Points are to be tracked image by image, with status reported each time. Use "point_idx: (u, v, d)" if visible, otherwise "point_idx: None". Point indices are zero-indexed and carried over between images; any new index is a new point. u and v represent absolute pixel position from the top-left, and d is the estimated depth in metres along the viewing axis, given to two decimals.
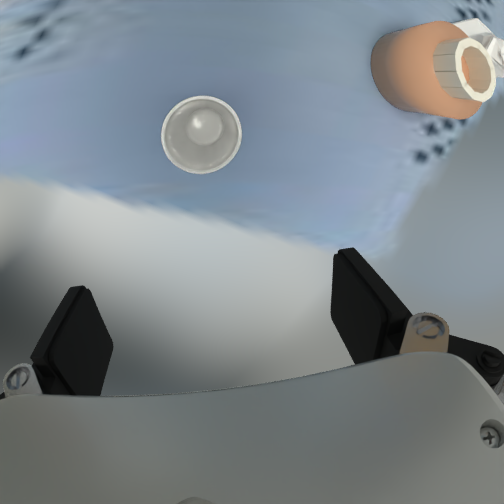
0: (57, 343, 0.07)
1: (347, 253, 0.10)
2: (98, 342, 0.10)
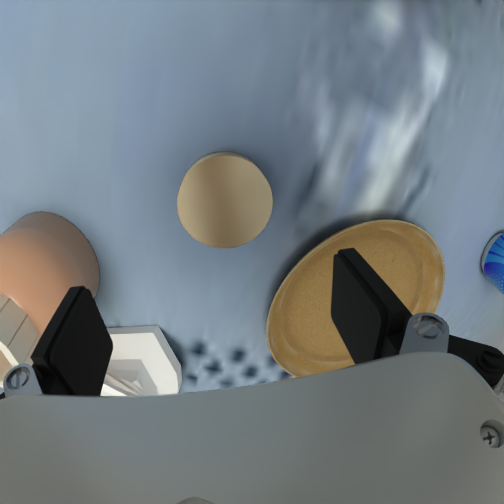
0: (57, 343, 0.07)
1: (347, 253, 0.10)
2: (98, 342, 0.10)
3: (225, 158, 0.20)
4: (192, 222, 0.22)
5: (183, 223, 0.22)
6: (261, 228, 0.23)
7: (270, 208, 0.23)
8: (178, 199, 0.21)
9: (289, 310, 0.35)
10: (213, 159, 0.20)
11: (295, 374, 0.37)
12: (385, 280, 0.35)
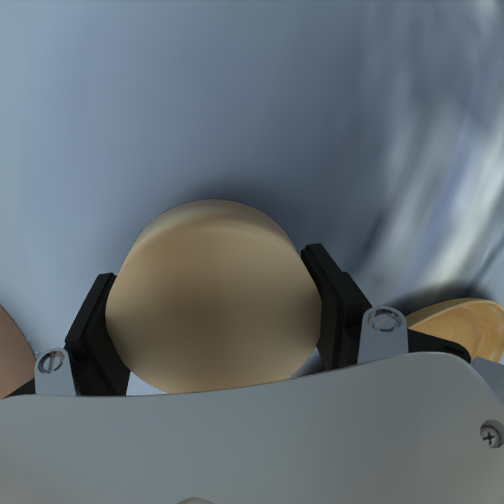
0: (92, 326, 0.08)
1: (313, 248, 0.11)
2: None
3: (215, 236, 0.08)
4: (145, 363, 0.10)
5: (127, 363, 0.09)
6: (291, 371, 0.11)
7: (315, 339, 0.10)
8: (108, 322, 0.09)
9: None
10: (182, 238, 0.08)
11: None
12: None
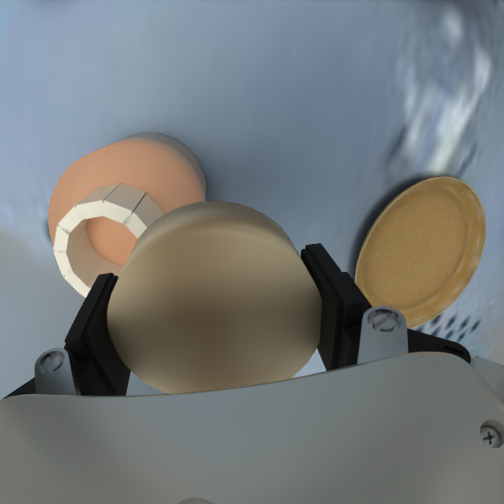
0: (92, 326, 0.08)
1: (313, 248, 0.11)
2: None
3: (216, 238, 0.08)
4: (147, 364, 0.10)
5: (128, 365, 0.10)
6: (292, 372, 0.11)
7: (316, 341, 0.10)
8: (110, 324, 0.09)
9: (371, 252, 0.38)
10: (184, 240, 0.08)
11: None
12: (442, 234, 0.38)
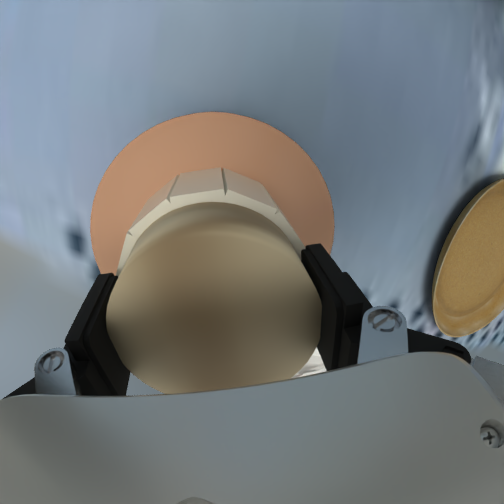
0: (92, 326, 0.08)
1: (313, 248, 0.11)
2: None
3: (215, 240, 0.08)
4: (146, 365, 0.10)
5: (128, 365, 0.10)
6: (291, 373, 0.11)
7: (315, 342, 0.10)
8: (109, 325, 0.09)
9: (446, 257, 0.31)
10: (183, 241, 0.08)
11: (439, 326, 0.34)
12: (503, 235, 0.32)
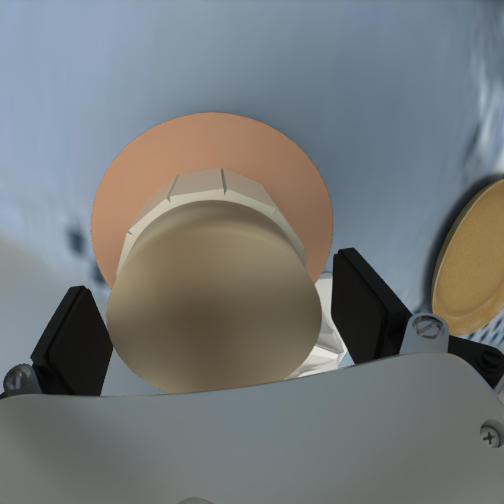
0: (57, 343, 0.07)
1: (347, 253, 0.10)
2: (98, 342, 0.10)
3: (215, 236, 0.08)
4: (146, 362, 0.10)
5: (128, 363, 0.10)
6: (291, 370, 0.11)
7: (314, 339, 0.10)
8: (109, 322, 0.09)
9: (445, 257, 0.32)
10: (183, 238, 0.08)
11: None
12: (503, 235, 0.32)
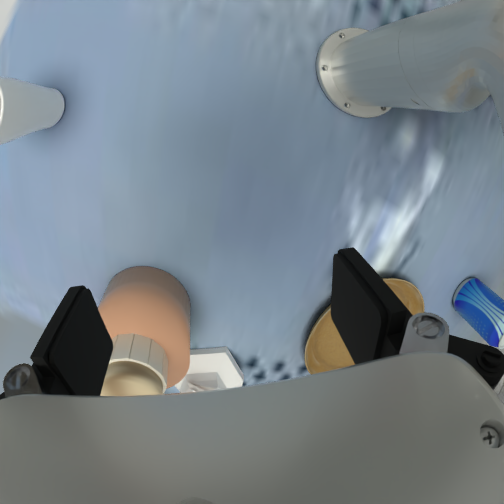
0: (57, 343, 0.07)
1: (347, 253, 0.10)
2: (98, 342, 0.10)
3: (121, 383, 0.25)
4: None
5: None
6: None
7: None
8: None
9: (319, 335, 0.49)
10: (114, 382, 0.25)
11: None
12: None
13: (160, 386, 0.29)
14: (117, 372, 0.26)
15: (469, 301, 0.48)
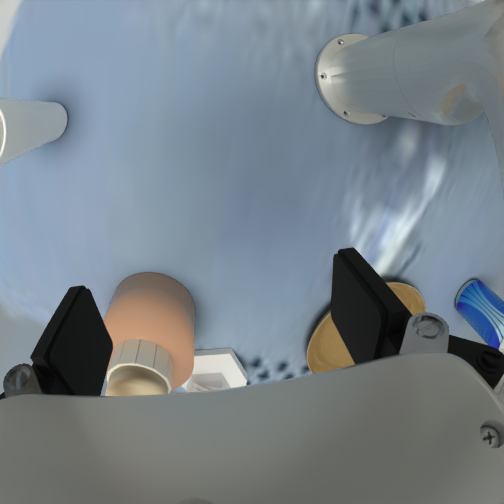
0: (57, 343, 0.07)
1: (347, 253, 0.10)
2: (98, 342, 0.10)
3: (128, 386, 0.27)
4: None
5: None
6: None
7: None
8: None
9: (321, 336, 0.51)
10: (121, 386, 0.27)
11: None
12: None
13: (165, 389, 0.30)
14: (124, 376, 0.28)
15: (471, 303, 0.48)
